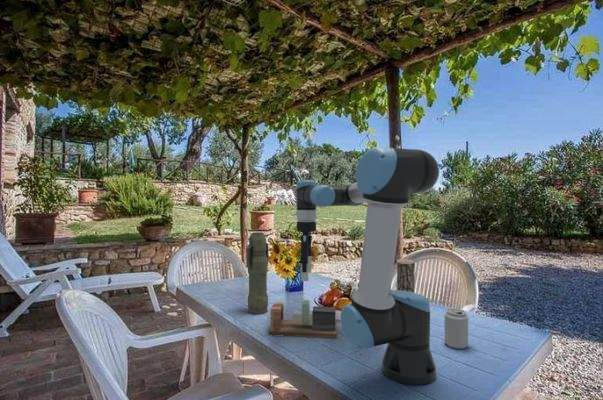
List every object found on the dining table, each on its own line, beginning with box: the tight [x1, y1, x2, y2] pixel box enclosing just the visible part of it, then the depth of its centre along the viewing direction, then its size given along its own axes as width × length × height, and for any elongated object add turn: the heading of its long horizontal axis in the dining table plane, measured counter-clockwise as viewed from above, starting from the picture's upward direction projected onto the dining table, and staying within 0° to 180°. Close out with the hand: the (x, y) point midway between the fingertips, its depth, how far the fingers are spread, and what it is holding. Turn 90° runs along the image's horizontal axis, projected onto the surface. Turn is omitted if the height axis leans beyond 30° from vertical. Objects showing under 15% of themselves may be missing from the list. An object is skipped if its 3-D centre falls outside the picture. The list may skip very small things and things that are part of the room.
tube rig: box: [268, 301, 338, 339], centre depth 134 cm, size 12×25×9 cm, turn 84°
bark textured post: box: [396, 258, 416, 293], centre depth 143 cm, size 7×7×25 cm
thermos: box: [245, 232, 270, 316], centre depth 156 cm, size 9×12×35 cm
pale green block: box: [292, 299, 313, 325], centre depth 134 cm, size 4×16×8 cm, turn 84°
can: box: [444, 308, 469, 350], centre depth 121 cm, size 8×8×12 cm
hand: (306, 276), depth 134 cm, fingers open, 13 cm apart
